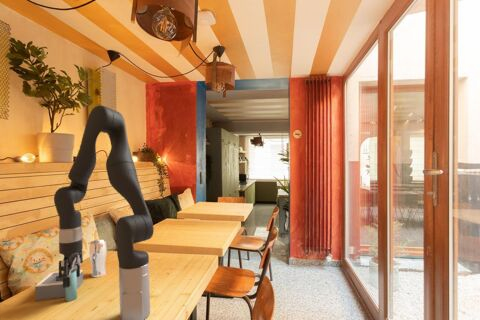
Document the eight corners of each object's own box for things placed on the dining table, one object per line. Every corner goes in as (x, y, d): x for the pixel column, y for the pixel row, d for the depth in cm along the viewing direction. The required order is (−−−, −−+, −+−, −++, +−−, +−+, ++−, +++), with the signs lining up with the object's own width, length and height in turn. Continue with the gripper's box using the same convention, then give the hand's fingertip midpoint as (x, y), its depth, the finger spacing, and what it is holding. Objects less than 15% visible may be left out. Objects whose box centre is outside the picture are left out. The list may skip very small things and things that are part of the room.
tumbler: (103, 270, 127) (102, 238, 127) (110, 273, 122) (109, 240, 122) (87, 275, 121) (86, 242, 121) (93, 279, 117) (93, 245, 117)
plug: (75, 301, 99) (74, 268, 99) (62, 302, 98) (61, 269, 98) (79, 295, 103) (78, 264, 103) (67, 296, 102) (66, 265, 102)
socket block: (70, 296, 102) (70, 282, 102) (35, 300, 100) (35, 285, 100) (83, 282, 114) (82, 269, 114) (51, 285, 112) (51, 272, 112)
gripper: (73, 244, 95) (74, 290, 95) (88, 233, 109) (89, 272, 109) (49, 245, 93) (51, 292, 94) (68, 234, 107) (69, 274, 108)
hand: (71, 281), depth 101 cm, fingers open, 8 cm apart
